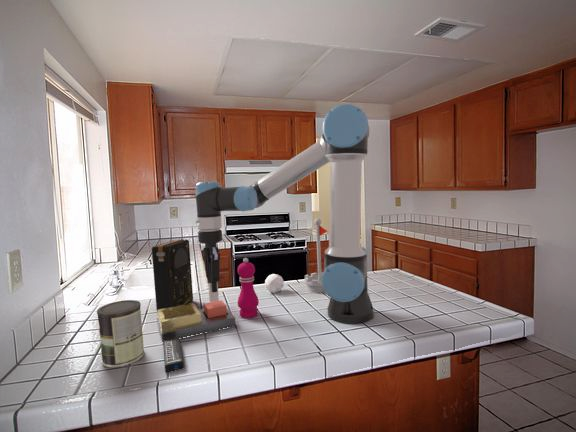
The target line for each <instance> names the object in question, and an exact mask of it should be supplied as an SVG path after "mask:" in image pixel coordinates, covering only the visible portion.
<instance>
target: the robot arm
mask: <svg viewBox="0 0 576 432" xmlns="http://www.w3.org/2000/svg"><path fill="white" fill-rule="evenodd" d="M368 120H369V119H368V117H367V115H366V113H365V112H364V111H363V109H361V108H360V107H359V106H356V105H355V104H351V103H343V104H338V105H336V106H334V107H333V108H331V109H330V110H329V111H328V112H327V113H326V114H325V116H324V119H323V122H322V133H323V134H322V135H320V139H319V140H318V141H316V142H315V143H313V144H312V145H310V146H308V148H306V149H305V150H303V151H302V152H299V154H296V155H295V156H294V157H292V158H291V159H289V160H287V161H285V162H284V163H283V164H281V165H280V166H278V167H277V168H275V169H274V170H272V171H271V172H269V173H267V174H266V175H264V176H263V177H261V178H260V179H258V180H257V181H255V182H253V183H252V184H251V185H249V186H244V185H241V186H229V187H227V186H226V187H221V186H220V183H219V182H218V181H199V182H197V183H196V184H195V201H196V213H197V214H196V217H197V220H195V224H197V229H198V230H199V231H198V232H197V236H198V243H200V244H204V247H203V249H202V251H203V258H204V266H205V275H206V276H205V277H206V279H207V280H206V281H207V284H208V297H209V298H208V299H209V301H208V302H209V303H210V302H215V301H220V299H219V298H220V297H219V282H220V279H221V278H220V270H221V269H220V267H221V265H220V261H221V259H220V258H221V253H220V252H219V250H220V249H219V247H218V245H217V243H219V242H222V241H223V231H222V228H223V226H222V225H223V223H222V212H248V211H254V210H255V209H257V208H260V207H262V206H263V205H264V204H265V203H266V202H268V201H269V200H271V199H272V198H273V197H275V196H276V195H278V194H280V193H283V191H285V190H287V189H288V188H289V187H291V186H293V185H295V184H296V183H297V182H300V181H301V180H303V179H305V177H308V176H309V175H310V174H313V173H314V172H316V171H317V170H319V169H321V168H322V167H324V166H325V165H327V164H329V163H330V185H329V186H330V187H329V188H330V190H329V191H330V194H329V198H330V199H329V200H330V202H329V246H328V247H327V248H326V249H325V250H324V256H323V257H324V261H323V263H324V265H323V266H324V269H323V271H322V272H323V274H322V287H323V289H324V291H325V293H324V294H326V295H327V296H328V297H329V301H328V306H327V316H328V317H329V319H331V320H333V321H335V322H338V323H341V324H342V323H343V324H361V323H366V322H369V321H371V320H372V319H373V318H374V316H375V312H374V311H375V310H374V306H373V304H372V299H371V297H370V295H369V288H368V287H369V286H368V253H367V249H366V248H365V246H364V247H363V246H361V221H362V220H361V219H362V218H361V215H362V213H361V211H362V209H361V207H362V169H363V168H362V164H363V161H364V160H365V159H366V158H367V157H368V147H369V145H368V144H369V143H368V142H369V141H368V139H369V137H370V127H369V121H368Z"/></svg>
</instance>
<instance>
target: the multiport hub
mask: <svg viewBox="0 0 576 432" xmlns="http://www.w3.org/2000/svg"><path fill="white" fill-rule="evenodd" d="M162 345H163V360H164V373H165V372H166V373H165V374H168V373H167V372H169V373H171V371H173V372H176V371H175V370H177V371H179V370H178V369H181V370H183V369H182V368H184V369H185V361H184V354H183V351H182V345H181V340H180V339H179V338H177V339H172V340H167V341H164V342H163V344H162Z"/></svg>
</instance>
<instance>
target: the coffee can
mask: <svg viewBox="0 0 576 432" xmlns="http://www.w3.org/2000/svg"><path fill="white" fill-rule="evenodd" d="M141 305H142V304H141V302H140V301H139V300H135V299H128V300H127V299H126V300H125V299H124V300H120V301H119V300H118V301H115V302H111V303H107V304H104V305H103V306H100V307H99V308H98V309H97V310H96V314H97V319H98V320H97V322H98V330H99V341H100V351H101V360H102V361H101V363H102V365H103V366H104V367H106V368H121V367H126V366H129V365H131V364H134V363H136V362H138V361H139V360H141V359H142V358H143V357H144V355H145V349H144V345H145V344H144V335H143V334H144V333H143V324H142V310H141ZM140 358H141V359H140ZM125 365H126V366H125Z"/></svg>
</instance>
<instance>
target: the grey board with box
mask: <svg viewBox="0 0 576 432" xmlns="http://www.w3.org/2000/svg"><path fill="white" fill-rule="evenodd" d="M156 322H157V329H159V330H158V332H160V333H159V336H161V337H160V339H161V340H162V341H161V343H162V342H164V341H167V340H172V339H177V338H183V337H187V336H191V335H196V334H200V333H205V332H210V331H215V330H219V329H223V328H227V327H232V326H236V317H235V316H234V315H233V313H232V312H231V311H230V310H229V309H228V308H227V314H226V315H222V316H217V317H212V318H208V317H207V315H206V314H205V313H204V307H203V308H199V309H198V307H197V306H196V304H195V303H193V302H190V303H189V304H186V305H181V306H175V307H170V308H165V309H160V310H158V312H157V317H156ZM232 328H233V327H232ZM227 329H228V328H227ZM223 330H224V329H223ZM219 331H220V330H219ZM215 332H216V331H215ZM210 333H211V332H210Z"/></svg>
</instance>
